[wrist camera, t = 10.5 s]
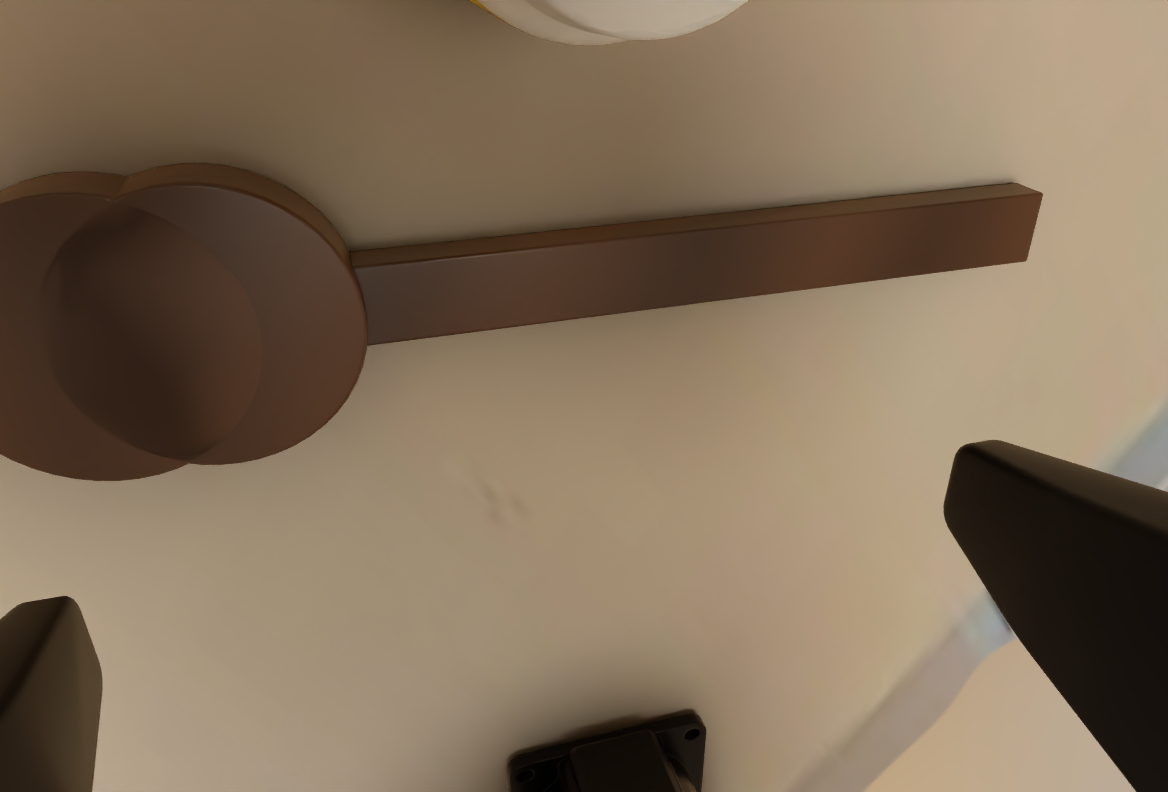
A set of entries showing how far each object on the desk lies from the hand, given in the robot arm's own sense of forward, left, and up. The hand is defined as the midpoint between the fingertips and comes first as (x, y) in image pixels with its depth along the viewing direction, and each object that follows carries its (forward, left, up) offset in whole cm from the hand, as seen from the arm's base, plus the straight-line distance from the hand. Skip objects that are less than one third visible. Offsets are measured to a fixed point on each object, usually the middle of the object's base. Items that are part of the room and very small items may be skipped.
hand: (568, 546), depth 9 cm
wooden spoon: (-2, -3, -12) cm, 12 cm away
